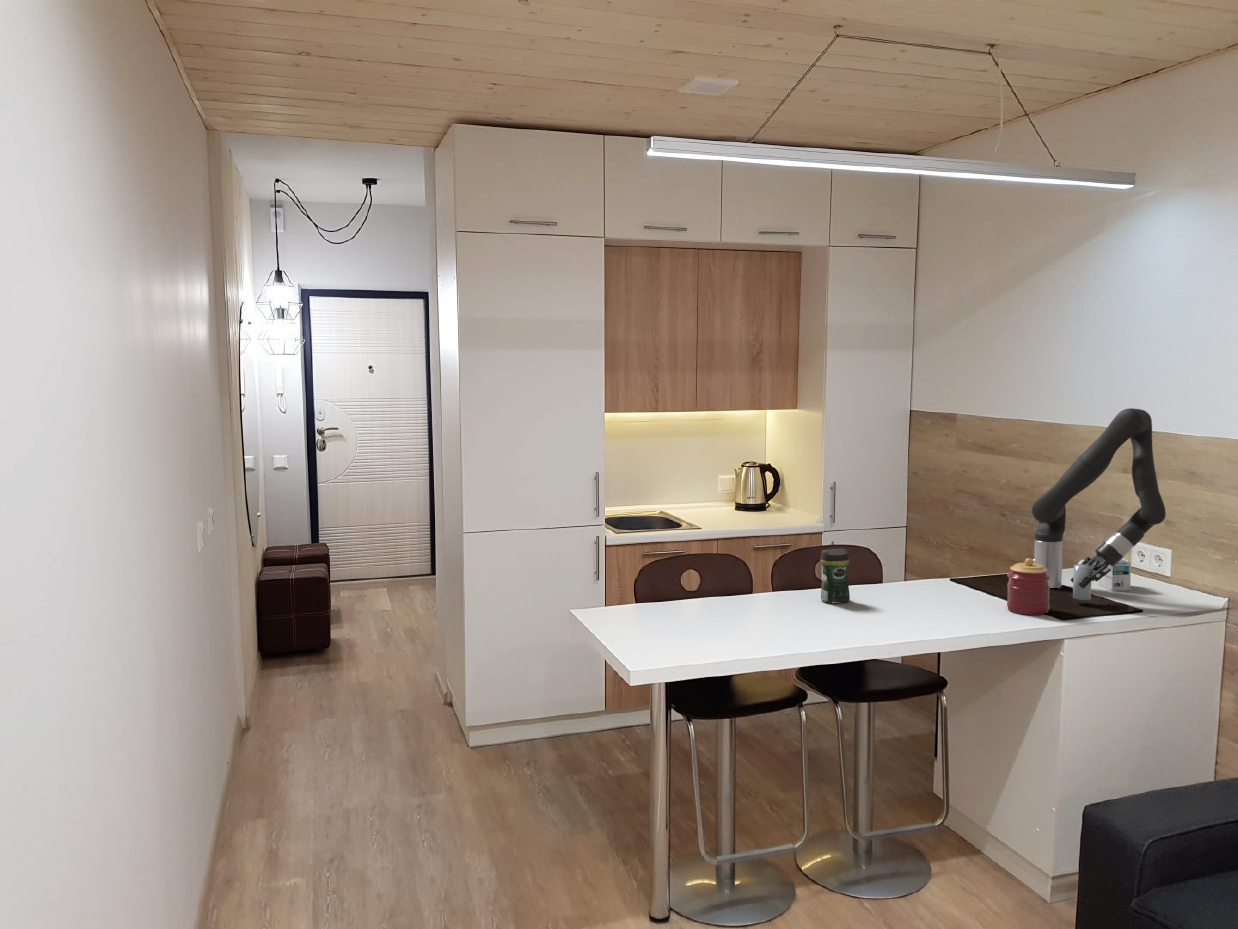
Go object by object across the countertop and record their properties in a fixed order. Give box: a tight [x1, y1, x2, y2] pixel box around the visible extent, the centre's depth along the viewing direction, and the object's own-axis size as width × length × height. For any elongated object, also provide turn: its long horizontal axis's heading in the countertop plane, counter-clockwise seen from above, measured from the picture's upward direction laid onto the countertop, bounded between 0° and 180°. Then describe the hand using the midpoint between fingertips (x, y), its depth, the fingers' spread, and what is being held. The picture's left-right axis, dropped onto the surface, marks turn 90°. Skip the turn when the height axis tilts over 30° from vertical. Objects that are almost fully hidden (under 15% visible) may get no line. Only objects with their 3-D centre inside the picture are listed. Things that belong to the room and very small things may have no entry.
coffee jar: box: [820, 548, 851, 604], centre depth 326 cm, size 10×8×19 cm
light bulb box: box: [1097, 557, 1132, 592], centre depth 336 cm, size 11×7×11 cm, turn 179°
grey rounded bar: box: [1072, 563, 1092, 601], centre depth 314 cm, size 5×5×11 cm
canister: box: [1006, 557, 1051, 616], centre depth 307 cm, size 13×13×18 cm
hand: (1076, 584), depth 314 cm, fingers closed on grey rounded bar, 5 cm apart
